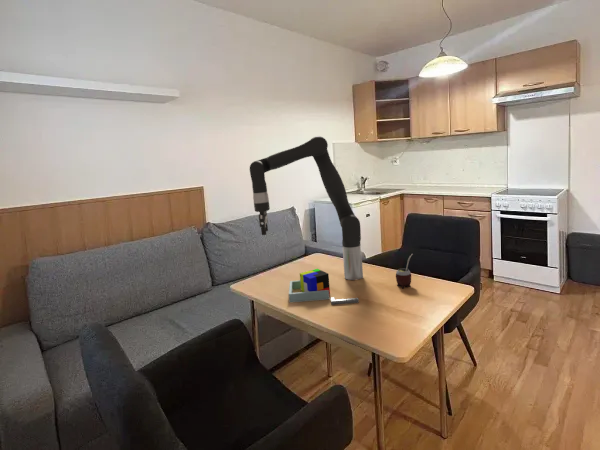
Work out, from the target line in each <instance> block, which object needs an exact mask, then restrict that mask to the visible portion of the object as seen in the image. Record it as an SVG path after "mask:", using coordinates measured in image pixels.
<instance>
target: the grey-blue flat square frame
mask: <svg viewBox="0 0 600 450" xmlns="http://www.w3.org/2000/svg"><path fill="white" fill-rule="evenodd" d="M294 290H301V283H300V280H289V288H288V299H289V302H288V303H298V302H299V303H301V302H312V301H323V300H330V294H329V290H322V291H310V292H300V291H299V292H298V291H297V292H294Z"/></svg>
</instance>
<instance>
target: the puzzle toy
mask: <svg viewBox="0 0 600 450" xmlns="http://www.w3.org/2000/svg"><path fill="white" fill-rule="evenodd" d="M299 279H300V283H301V289H300V290H301V292H310V291H322V290H329V295H330V294H331V289H330V276H329V273H328V272H325V271H324V270H321V269H319V268H314V269H312V270H307V271H304V272H300V273H299Z"/></svg>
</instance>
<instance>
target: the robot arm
mask: <svg viewBox="0 0 600 450" xmlns="http://www.w3.org/2000/svg"><path fill="white" fill-rule="evenodd" d="M328 147H329V144H328V141H327V140H326V138H325V137H323V136H320V135H317V136H313V137H312V138H310V139H309V140H307V141H306V142H305V143H302V144H301V145H298V146H295V147H293V148H288V149H285V150H282V151H279V152H276V153H274V154H271V155H269V156H267V157H264V158H262V159H257V160H255V161H253V162H252V163H250V165H249V173H250V174H249V175H250V180H251V185H252V186H251V187H252V196H253V197H252V199H253V206H254V207H253V208H254V211H255V212H257V213H259V214H258V223H259V228H260V230H261V231H260V232H261V235H262V236H266V235H267V232H268V231H269V228H268V227H269V226H268V212H269V211H270V200H269V199H270V198H269V193H268V186H267V182H266V176H265V175H266V174H265V173H268V172H269V171H272V170H277V169H280V168H283V167H285V166H288V165H290V164H293V163H295V162H298V161H300V160H302V159H306V158H310V157H312V158H313V159H314V161H315V163H316V166H317V168H318V171H319V172H318V173H319V175H320V178H321V181H322V183H323V184H322V185H323V187H324V188H325V191H326V193H327V195H328V198H329V200H330V201H331V204H332V205H333V206H334V209H335V211H336V214H337V216H338V221H339V224H340V227H341V232H342V233H341V236H342V238H341V239H342V241H341V244H342V258H343V259H342V262H343V276H344V279H346V280H349V281H357V280H360V279H364V271H363V270H364V269H363V260H362V248H361V247H362V246H361V239H362V235H361V233H362V231H361V223H360V222H361V221H360V220H359V218H358V217H357V216H356V215H355V213H354V212H353V209H352V207H351V205H350V203H349V199H348V195H347V192H346V191H347V189H346V187H345V184H344V182H343V180H342V177H341V175H340V173H339V171H338V170H337V168H336V166H335V165H334V163H333V162H332V160H331V156H330V154H329V150H328Z"/></svg>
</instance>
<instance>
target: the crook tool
mask: <svg viewBox="0 0 600 450" xmlns="http://www.w3.org/2000/svg"><path fill="white" fill-rule="evenodd" d="M359 300H360V299H359V297H351V298H340V299H338V298H337V299H335V296H332V297H330V303H331V305H332V306H334V305H345V304H359V302H360V301H359Z"/></svg>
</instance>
